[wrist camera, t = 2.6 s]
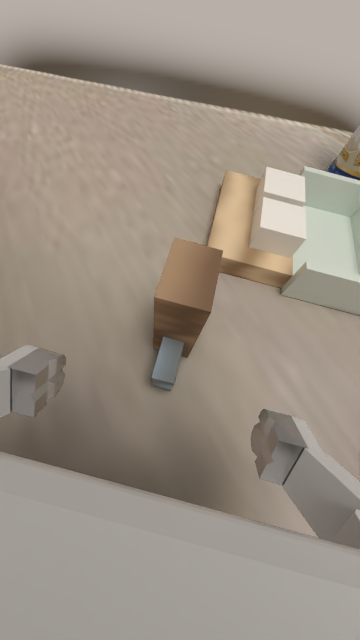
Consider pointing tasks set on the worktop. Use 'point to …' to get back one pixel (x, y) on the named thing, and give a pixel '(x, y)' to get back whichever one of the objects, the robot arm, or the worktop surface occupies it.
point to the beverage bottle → (348, 158)
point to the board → (244, 235)
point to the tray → (329, 244)
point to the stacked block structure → (182, 305)
